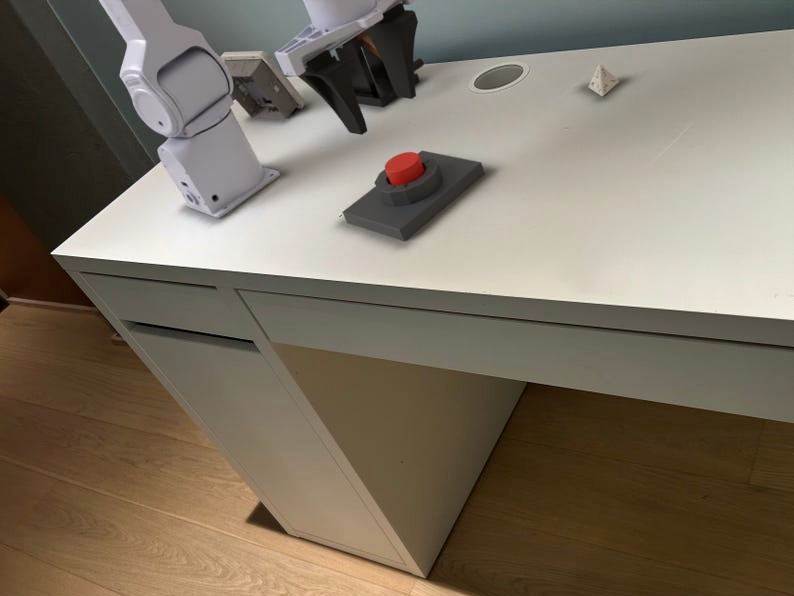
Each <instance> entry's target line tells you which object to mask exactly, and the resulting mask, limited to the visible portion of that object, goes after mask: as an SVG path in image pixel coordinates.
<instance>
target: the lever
mask: <svg viewBox="0 0 794 596" xmlns="http://www.w3.org/2000/svg"><path fill="white" fill-rule="evenodd" d="M356 36H357V38H358V41H359V44H360V46H361V48H362V46H365V47H366V48H367V49H369V50H370V51H371V52H373V53H374V54H375V55H377V56H378V57H379V58H381V57H380V55H379V53H378V51H377V49H376V47H375V46H374V44H373V42H372V41H371V39H370V37H369V36H368V34H367V33H366V31H365V30H364V31H363V32H361V33H360V34H358V35H356ZM413 63H414V73H416V72H417V71H418V70H419V69H421V68H422V67H424V66H425V65H424V63H425V62H424V60H423V59H422V58H421V57H418V58H416V59H415V60H413Z"/></svg>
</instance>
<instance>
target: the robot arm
mask: <svg viewBox="0 0 794 596" xmlns="http://www.w3.org/2000/svg"><path fill="white" fill-rule="evenodd" d="M416 1H417V0H302V2H303V4H304V6H305V9H306V12H307V14H308V16H309V18H310V21H311V23H309V24H308V25H307V26H306V27H305V28H304V29H303V30H302V31H300V32H299V33H298V34H297V35H296V36H295V37H293V38H292V39H291V40H290V41H289V42H288V43H286V44H285V45H283V46H282V47H281V48H279V49H278V50H276V51H275V52H274V56H275V58H276V60H277V63H278V65H279V68H280V70H281V71H282V72H283V74H284V75H285V76H289V77H297V78H299V79H300V80H301V81H303V82H304V83H305V84H307V85H308V86H309V87H310V88H311V89H312V90H314V91H315V93H316V94H318V95H319V97H320V98H322V100H324V101H325V103H326V104H327V105H328V106H329V107H330V108H331V110H332V111H333V112H334V113H335V115H336V116H337V117H338V118H339V120H340V121H341V122H342V125H343V126H345V128H346V130H347V131H348V133H349V134H353V135H359V136H362V135H364V134H366V133H367V132H368V127H367V123H366V119H365V117H364V114H363V112H362V109H361V106H360V104H358V102H357V99H356V96H355V92H354V88H353V84H352V79H351V73H350V63H349V62H347V61H340V60H339V59H338V58H337V56H335V55H332V54H331V52H333V51H335V49H336V48H338V47H339V46H341V45H342V44H344V43H345V42H347V41H349V40H350V39H352V38H353V37H355V36H356V35H358V34H360V33H361V32H363V31H364V30H365V31H366V33H367V34H368V36H369V37H370V39H371V41H372V42H373V44H374V46H375V47H376V49H377V51H378V53H379V55H380V57H381V59H382V61H383V63H384V66H385V68H386V71H387V74H388V76H389V79H390V82H391V84H392V87H393V89H394V91H395V93H396V94H397V96H398V98H401V99H402V98H403V99H409V100H412V99H414V98H416V97H417V92H416V91H417V90H416V89H417V88H416V85H415V79H414V73H415V72H414V63H413V61H414V50H415V49H414V48H415V39H416V33H417V28H418V23H419V20H418V17H417V15H416V11H415V10H413V9H405V7H404V6H410V5H412V4H413V3H414V2H416ZM98 2H99V3H100V5H101V6H102V8H103V9H104V11H105V12H106V14H107V15H108V17H109V19H110V20H111V22H112V24H113V26H114V27H115V28H116V29H117V31H118V32H119V34H120V35H121V37H122V39H123V40H124V41H125V43H126V50H125V53H124V57H123V60H122V64H121V67H120V72H119V78H120V79H121V81H122V82H123V84H124V86H125V88H126V89H127V91H128V93H129V96H130V98H131V101H132V104H133V108H134V109H135V111H136V113H137V115H138V116H139V118H140V119H141V120H142V121H143V122H144V123H145V124H146V125H147V127H148V128H150V129H151V130H152V131H154V132H155V133H158V134H159V135H162V136H165V138H167V139H166V140H165V141H164V142H163V143H162V144H161V145H160V146H159V147H158V148H157V154H158V158H159V160H160V162H161V164H162V165H163V167H164V169H165V170H166V172H167V173H168V175H169V176H170V178H171V180H172V181H173V183H174V184H175V186H176V187H177V189H178V191H179V192H180V194H181V195H182V197H183V199H184V200H185V205H186V206H187V207H188V208H191V209H193V210H196V211H198V212H201V213H203V214H206V215H208V216H211V217H214V218H217V219H220V218H222V217H224V216H225V215H226V214H228V213H230V212H231V211H232V210H233V209H235V208H236V207H238V206H239V205H241V204H242V203H243V202H245V201H246V200H247V199H249V198H251V197H252V196H253V195H255V194H256V193H257V192H259V191H260V190H262V189H263V188H264V187H266V186H267V185H269V184H270V183H271V182H274V180H276V179H277V178H278V177H279V176H280V175H281V173H280V171H279V170H277V169H272V168H268V167H266V166H262V164H261V162H260V160H259V159H258V156H257V155H256V153H255V151H254V149H253V147H252V145H251V143H250V142H249V140H248V138H247V136H246V134H245V132H244V131H243V129H242V127H241V125H240V123H239V120H238V119H237V118H236V116H235V114H234V112H233V110H232V108H231V107H232V106H233V105H235V102H234V100H233V98H232V95H231V94H232V91H233V80H232V77H231V74H230V71H229V69H228V67H227V65H226V64H225V62H224V61H223V60H222V59H221V57H220V56H219V54H218V53H216V51H214V49H213V48H212V47H211V46H210V44H209V43H208V42H207V40H206V39H205V37H204V34H203V33H202V32H201V31H199V30H196V29H194V28H190V27H187V26H184V25H180V24H178V23H175V22H174V21H173V19H172V17H171V16H170V14H169V12H168V11H167V9H166V7H165V5H164V4H163V2H162V0H98Z"/></svg>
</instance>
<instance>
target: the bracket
mask: <svg viewBox="0 0 794 596" xmlns="http://www.w3.org/2000/svg"><path fill="white" fill-rule="evenodd" d="M334 51H335V53H336V55H337V56H336V57H337V59H338V61H347V62H349V63H350V73H351V79H352V84H353V88H354V92H355V96H356V99H357V102H358V104H359V105H364V106H371V107H377V108H385V107H386V106H388V105H390V104H391V103H392V102H394V101H395V100H396V99H398V98H399V97H398V96H397V94H396V93H395V91H394V89H393V87H392V84H391V82H390V79H389V76H388V74H387V71H386V68H385V66H384V63H383V61H382V59H381V58H379V57H378V56H377V55H375V54H374V53H373V52H371V51H370V50H369V49H367V48H366V47H365V46H362V47H361V46H360V44H359V41H358V38H357V36H355V37H353V38H352V39H350V40H349V41H347V42H345V43H344V44H342V45H341V46H339V47H338V48H336V49H335V50H334ZM414 79H415V86H416V85H417V84H419V83H420V82H421V80H420V77H419V75H418V73H417V72H414Z"/></svg>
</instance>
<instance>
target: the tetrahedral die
mask: <svg viewBox="0 0 794 596" xmlns="http://www.w3.org/2000/svg"><path fill="white" fill-rule="evenodd" d="M619 83H620V80H619V79H617V78H616V76H614V75H613V74H612V73H611V72H610V71H609V70H607V68H605V67H604V66H603V65H602V64H601V63H599V64H598V65H597V68H596V70H595V72H594V74H593V75H592V78H591V81H590V83H589V84H588V89H590V90H592V91H593V92H594V93H596V94H597V95H599V96H600V97H604V96H605V95H607V94H608V93H609V92H610V91H611V90H613V88H615V87H616V86H617V85H618V84H619Z"/></svg>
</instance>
